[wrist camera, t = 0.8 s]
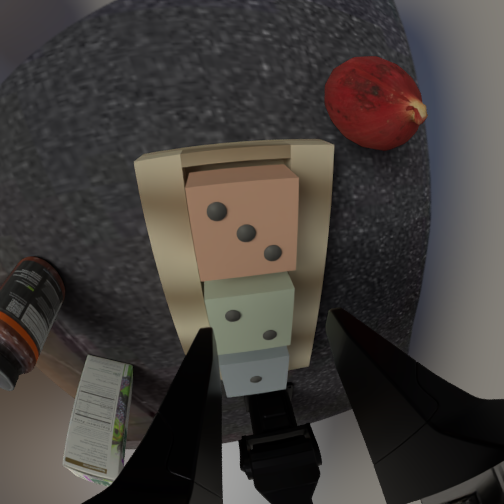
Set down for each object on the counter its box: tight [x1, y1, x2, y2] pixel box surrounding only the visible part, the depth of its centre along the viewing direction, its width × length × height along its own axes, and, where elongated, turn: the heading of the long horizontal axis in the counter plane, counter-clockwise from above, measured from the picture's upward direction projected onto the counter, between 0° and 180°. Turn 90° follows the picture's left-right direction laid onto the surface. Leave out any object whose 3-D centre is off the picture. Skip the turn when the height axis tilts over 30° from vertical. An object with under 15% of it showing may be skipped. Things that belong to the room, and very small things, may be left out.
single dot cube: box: [218, 346, 289, 397], centre depth 23 cm, size 6×6×3 cm
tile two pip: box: [204, 271, 295, 355], centre depth 19 cm, size 6×6×3 cm
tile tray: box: [134, 139, 334, 380], centre depth 21 cm, size 22×12×2 cm, turn 2°
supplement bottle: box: [0, 256, 65, 391], centre depth 15 cm, size 6×6×11 cm
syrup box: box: [63, 355, 133, 486], centre depth 21 cm, size 6×6×14 cm
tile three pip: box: [185, 164, 299, 282], centre depth 16 cm, size 6×6×3 cm
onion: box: [325, 56, 428, 151], centre depth 13 cm, size 6×6×8 cm
